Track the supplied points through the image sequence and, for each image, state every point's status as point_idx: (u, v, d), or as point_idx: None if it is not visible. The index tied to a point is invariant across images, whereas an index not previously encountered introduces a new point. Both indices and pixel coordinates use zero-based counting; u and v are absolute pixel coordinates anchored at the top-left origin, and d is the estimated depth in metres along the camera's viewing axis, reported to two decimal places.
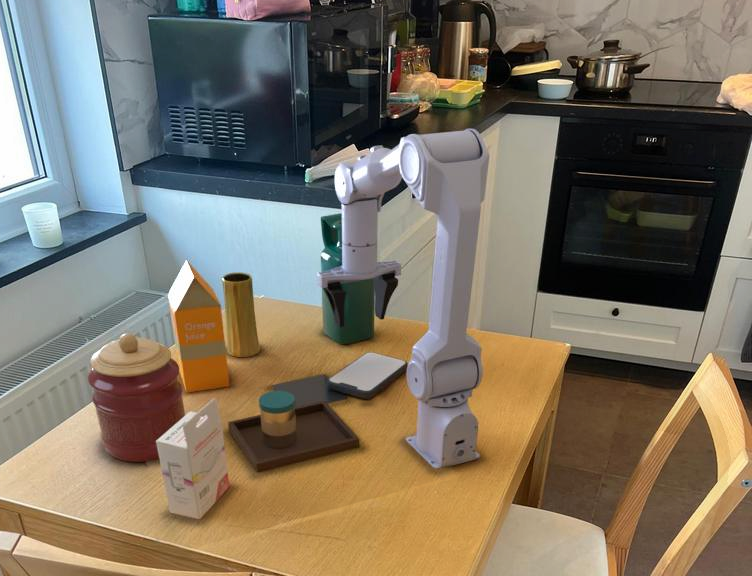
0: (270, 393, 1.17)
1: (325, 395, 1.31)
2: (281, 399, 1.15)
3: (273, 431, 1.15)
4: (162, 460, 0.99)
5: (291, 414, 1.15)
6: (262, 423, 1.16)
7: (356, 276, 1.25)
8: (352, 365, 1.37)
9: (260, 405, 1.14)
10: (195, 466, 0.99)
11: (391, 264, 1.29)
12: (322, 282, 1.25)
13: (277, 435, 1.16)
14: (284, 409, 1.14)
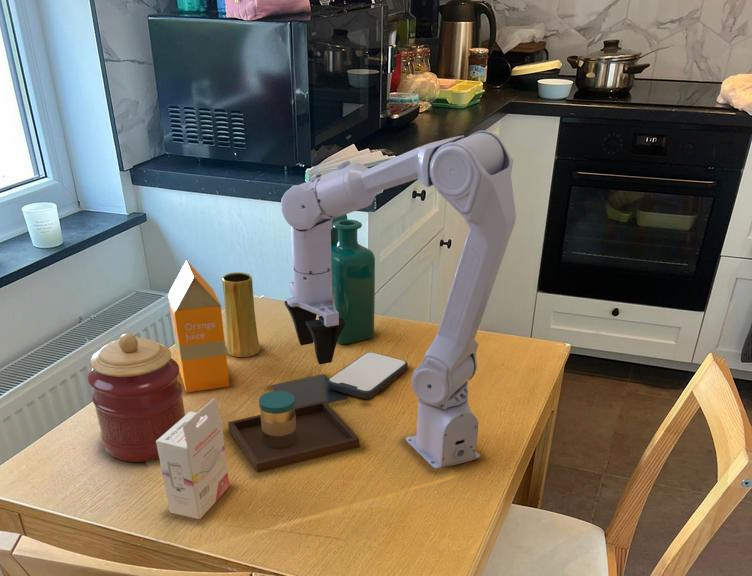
0: (270, 393, 1.17)
1: (325, 395, 1.31)
2: (281, 399, 1.15)
3: (273, 431, 1.15)
4: (162, 460, 0.99)
5: (291, 414, 1.15)
6: (262, 423, 1.16)
7: (333, 299, 1.16)
8: (352, 365, 1.37)
9: (260, 405, 1.14)
10: (195, 466, 0.99)
11: None
12: (338, 318, 1.12)
13: (277, 435, 1.16)
14: (284, 409, 1.14)
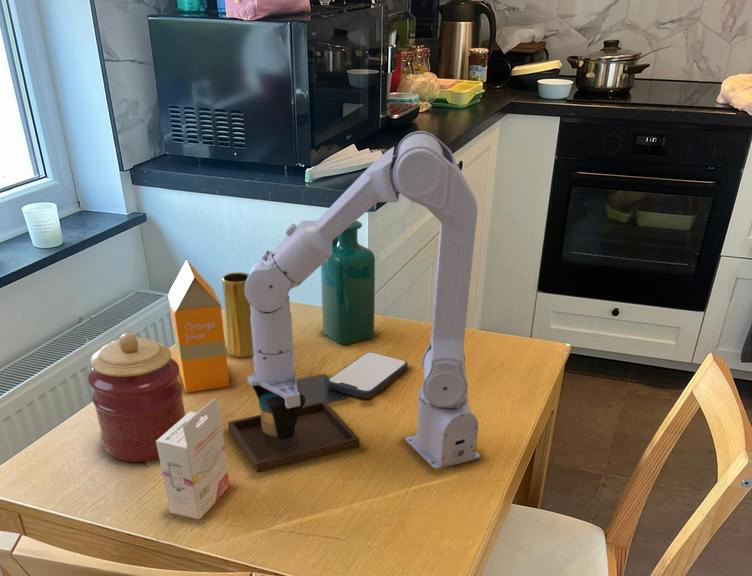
0: (270, 393, 1.17)
1: (325, 395, 1.31)
2: None
3: (273, 431, 1.15)
4: (162, 460, 0.99)
5: None
6: (262, 423, 1.16)
7: None
8: (352, 365, 1.37)
9: (260, 405, 1.14)
10: (195, 466, 0.99)
11: None
12: (299, 399, 1.08)
13: (277, 435, 1.16)
14: None
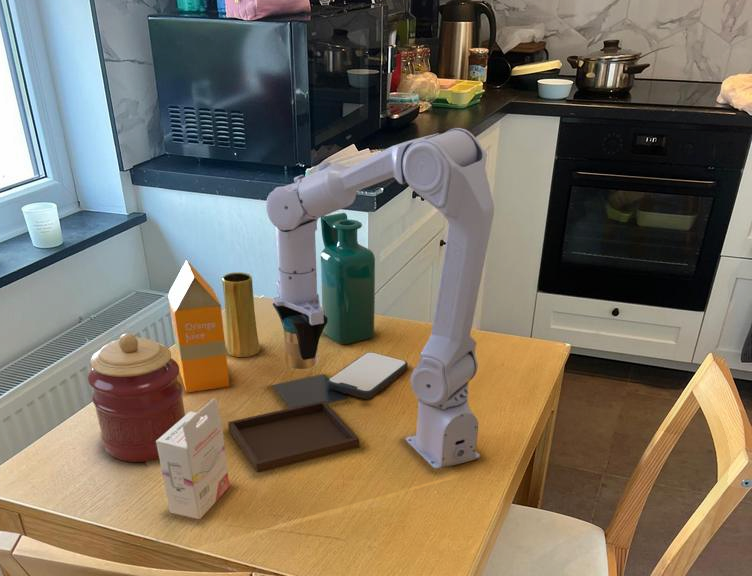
0: (293, 316, 1.23)
1: (325, 395, 1.31)
2: None
3: (296, 352, 1.22)
4: (162, 460, 0.99)
5: None
6: (286, 345, 1.22)
7: (318, 298, 1.19)
8: (352, 365, 1.37)
9: (284, 326, 1.20)
10: (195, 466, 0.99)
11: None
12: (323, 317, 1.15)
13: (300, 356, 1.22)
14: None
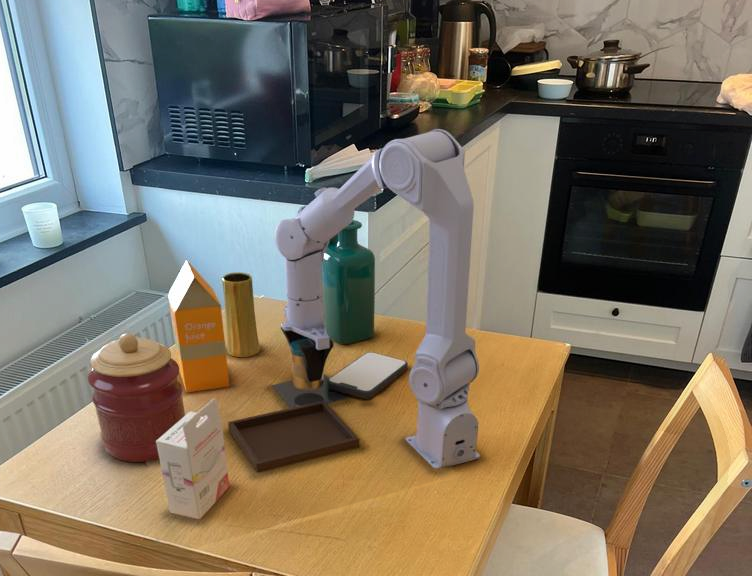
0: (300, 340, 1.28)
1: (325, 395, 1.31)
2: None
3: (303, 374, 1.27)
4: (162, 460, 0.99)
5: None
6: (293, 367, 1.28)
7: (324, 323, 1.24)
8: (352, 365, 1.37)
9: (292, 350, 1.26)
10: (195, 466, 0.99)
11: None
12: (329, 342, 1.20)
13: (307, 378, 1.27)
14: None
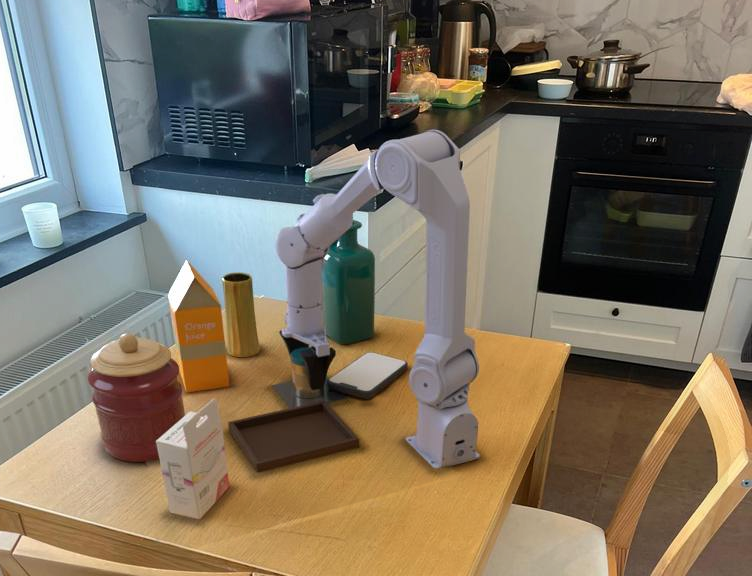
0: (301, 349, 1.29)
1: (325, 395, 1.31)
2: None
3: (303, 383, 1.28)
4: (162, 460, 0.99)
5: None
6: (293, 376, 1.29)
7: None
8: (352, 365, 1.37)
9: (292, 359, 1.27)
10: (195, 466, 0.99)
11: None
12: None
13: (307, 386, 1.28)
14: None
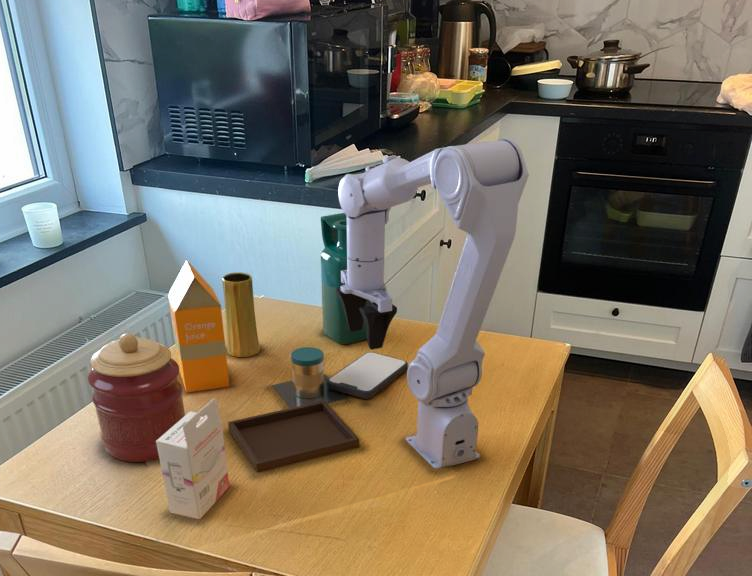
0: (301, 349, 1.29)
1: (325, 395, 1.31)
2: (311, 354, 1.28)
3: (303, 383, 1.28)
4: (162, 460, 0.99)
5: (320, 367, 1.28)
6: (293, 376, 1.29)
7: None
8: (352, 365, 1.37)
9: (292, 359, 1.27)
10: (195, 466, 0.99)
11: None
12: (391, 304, 1.16)
13: (307, 386, 1.28)
14: (314, 362, 1.26)
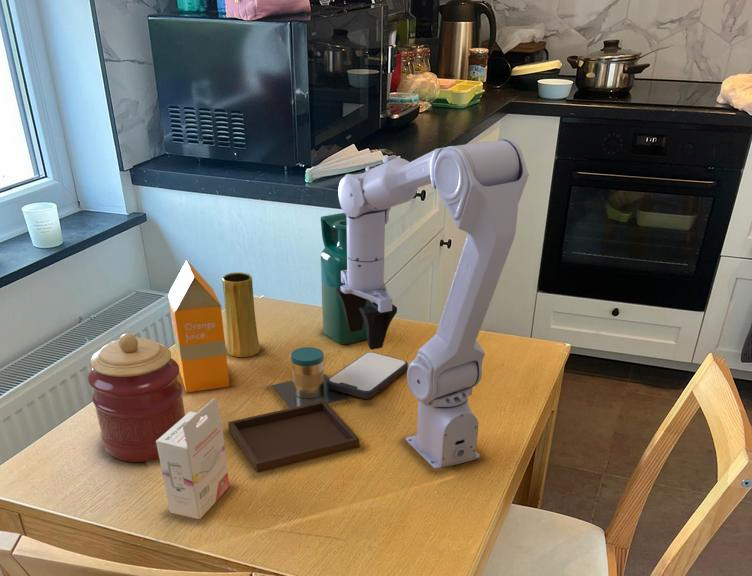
0: (301, 349, 1.29)
1: (325, 395, 1.31)
2: (311, 354, 1.28)
3: (303, 383, 1.28)
4: (162, 460, 0.99)
5: (320, 367, 1.28)
6: (293, 376, 1.29)
7: None
8: (352, 365, 1.37)
9: (292, 359, 1.27)
10: (195, 466, 0.99)
11: None
12: (391, 304, 1.16)
13: (307, 386, 1.28)
14: (314, 362, 1.26)
